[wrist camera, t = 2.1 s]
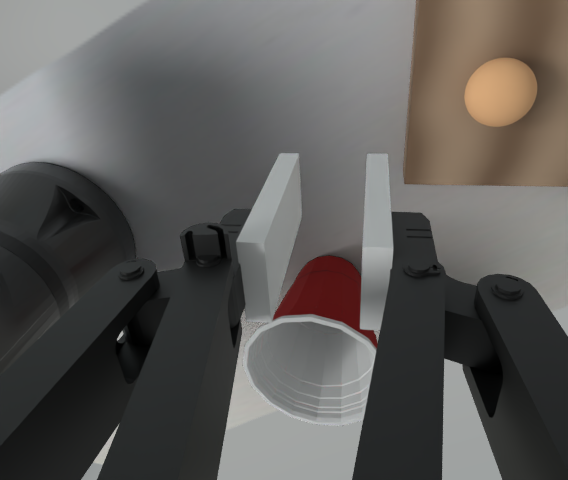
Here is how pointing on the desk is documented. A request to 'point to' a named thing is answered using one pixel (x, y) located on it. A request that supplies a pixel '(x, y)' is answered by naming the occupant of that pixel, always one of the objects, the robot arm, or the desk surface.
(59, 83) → the desk surface
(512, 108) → the ball
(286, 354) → the plastic cup
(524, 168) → the board
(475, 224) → the desk surface
